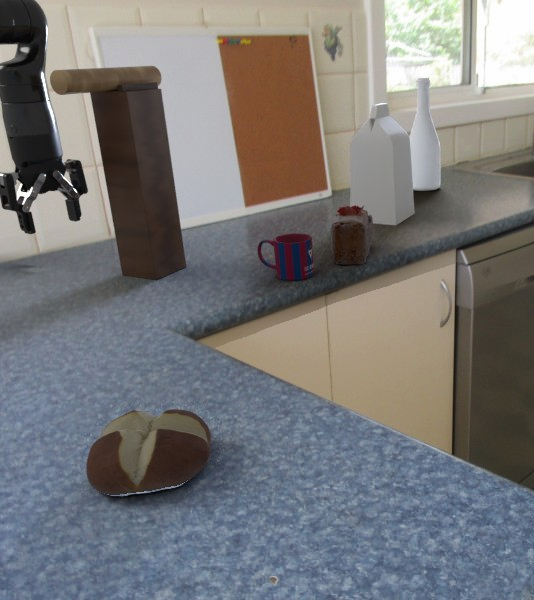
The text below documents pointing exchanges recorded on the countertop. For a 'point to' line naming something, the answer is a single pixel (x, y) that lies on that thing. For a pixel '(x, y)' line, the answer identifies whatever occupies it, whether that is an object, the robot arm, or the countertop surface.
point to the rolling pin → (101, 79)
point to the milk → (382, 169)
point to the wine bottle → (424, 143)
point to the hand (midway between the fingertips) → (53, 226)
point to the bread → (148, 452)
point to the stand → (139, 179)
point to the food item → (351, 235)
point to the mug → (291, 256)
